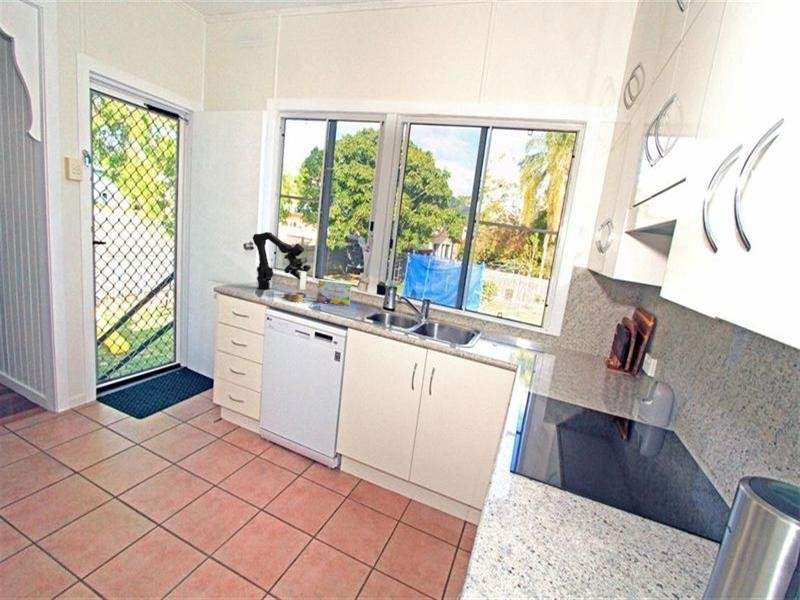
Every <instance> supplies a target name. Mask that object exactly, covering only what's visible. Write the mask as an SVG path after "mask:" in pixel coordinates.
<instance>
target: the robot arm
mask: <svg viewBox="0 0 800 600" xmlns="http://www.w3.org/2000/svg"><path fill="white" fill-rule="evenodd" d="M267 240H268V241H270V242H271V243H272V244H274V245H275V246H276V247H277V249H278V250H279V251H280V252H281V254H285V255H284V257H283V258H284V259H285V260H288V264H287V266H285V268H284V272H285V274H290V275H292V276H293V277H295V278H296V279H297V278H298V279H299V280H300V279H301V278H300V276H299V274H298V271H305V272H307V273H308V272H309V271H310V269H312V268H311V266H310V264H306V263H307V262H308V258H306V257H300V258H297V257H299V256H300V255H302V254H303V253H304V252H305V248H304V247H303V246H302V244H301V245H300V243H295V245H294V246H292V245H291V244H289V243H286V242H285V241H282V240H281V239H279V238H278V237H277V236H275V235H274V234H273V233H272V231H271V232H269V231H266V232H263V233H262V232H260V233H255V234H253V236H252V241H253V243H254V245H255V246H256V248H257V251H258V256H259V257H258V258H259V261H260V270H259V275H258V276H257V277H256V280H257V281H258V287H257V289H258V290H264V291H267V290H270V285H271V284H270V281H272V278H273V277H274V269H273V267H270V266H269V262H268V255H267V252H266V243H267ZM304 264H305V265H304ZM307 278H308V277H307V276H306V280H307Z"/></svg>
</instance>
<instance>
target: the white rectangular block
mask: <svg viewBox="0 0 800 600" xmlns="http://www.w3.org/2000/svg"><path fill="white" fill-rule="evenodd" d="M297 272H298V274H299V276H300V278H301V279H300V280H299V279H298V278H296V290H299V291H301V290H306V283H307V279H306V277H307V274H308V272H305V271H300V270H297Z"/></svg>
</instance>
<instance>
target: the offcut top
mask: <svg viewBox="0 0 800 600" xmlns="http://www.w3.org/2000/svg"><path fill="white" fill-rule="evenodd" d="M292 293H293V294H290V298H293V299H298V300H300V299H303V295H300V294H296V293H297V292H292Z"/></svg>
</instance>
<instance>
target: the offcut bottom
mask: <svg viewBox="0 0 800 600" xmlns="http://www.w3.org/2000/svg"><path fill="white" fill-rule="evenodd" d="M289 300H291V301H290V302H293V301H294V302H293V303H296V302H297V304H300V303H299V302H301V303H304V299H300V300H298V299H293V298H290V297H289ZM289 300H288V301H289Z"/></svg>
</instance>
